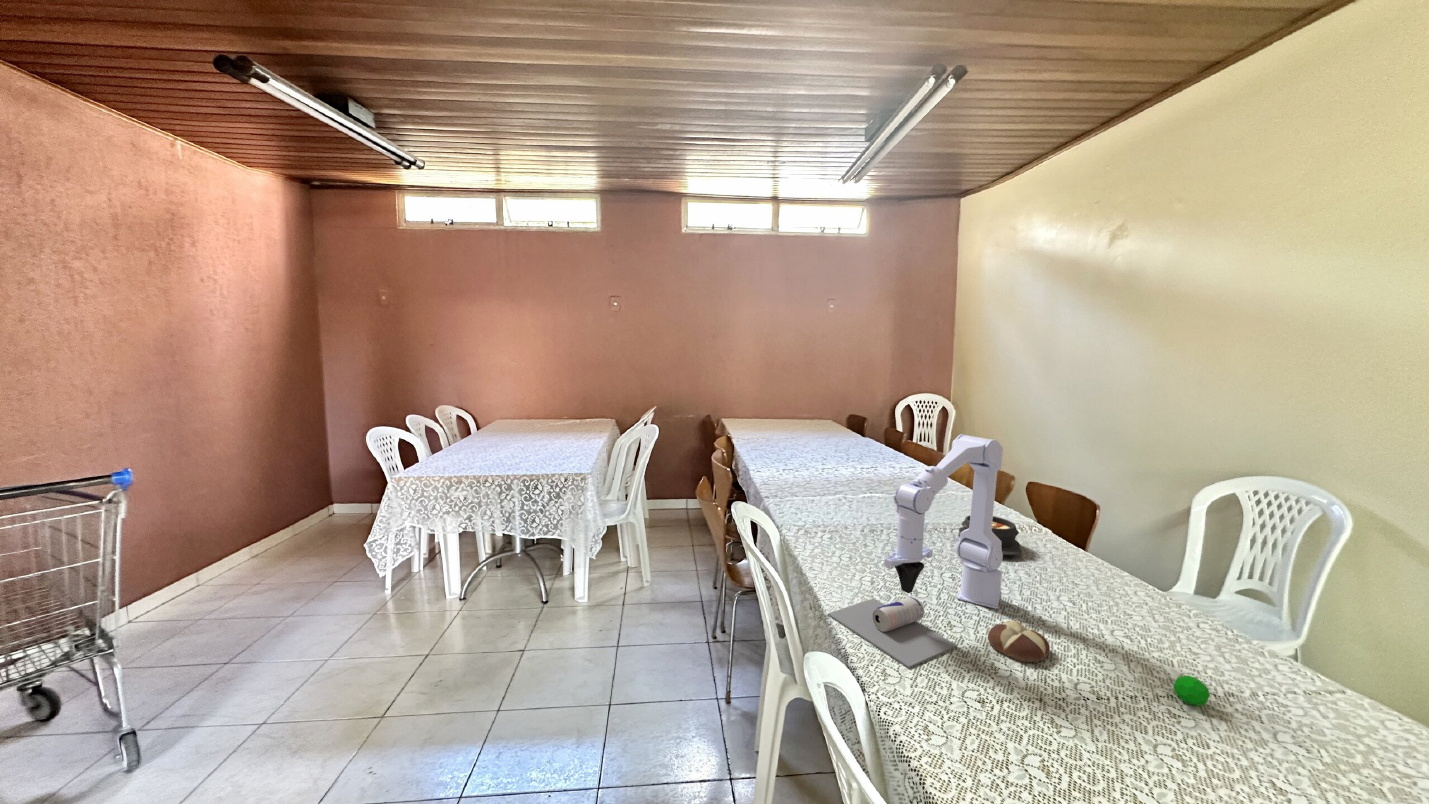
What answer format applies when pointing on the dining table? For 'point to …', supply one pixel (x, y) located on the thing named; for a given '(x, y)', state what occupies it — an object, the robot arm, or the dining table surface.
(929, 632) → the mat
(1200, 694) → the polyhedron
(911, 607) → the energy drink
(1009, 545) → the casserole
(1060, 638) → the dining table surface
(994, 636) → the bread
